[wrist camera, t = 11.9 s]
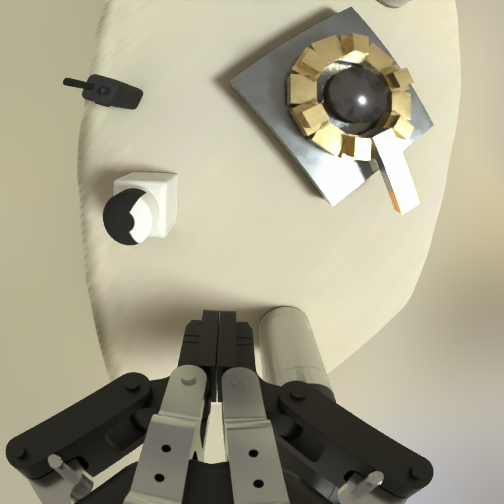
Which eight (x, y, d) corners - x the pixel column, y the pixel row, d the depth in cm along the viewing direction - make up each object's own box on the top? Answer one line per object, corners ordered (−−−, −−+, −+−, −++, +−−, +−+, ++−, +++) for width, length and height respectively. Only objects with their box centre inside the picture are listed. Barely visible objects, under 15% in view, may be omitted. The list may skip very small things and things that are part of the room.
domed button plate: (419, 124, 35) (452, 126, 28) (323, 199, 40) (344, 215, 32) (341, 15, 28) (363, -5, 21) (230, 86, 33) (228, 73, 25)
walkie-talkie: (145, 91, 32) (97, 72, 19) (135, 112, 33) (83, 105, 20) (118, 82, 31) (62, 64, 18) (108, 103, 32) (49, 95, 19)
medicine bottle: (131, 218, 40) (98, 249, 29) (132, 171, 37) (94, 188, 26) (176, 221, 40) (155, 255, 29) (178, 173, 38) (155, 190, 27)
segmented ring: (366, 28, 25) (380, 18, 21) (433, 177, 34) (451, 183, 30) (262, 68, 28) (265, 59, 24) (348, 227, 37) (361, 238, 33)
